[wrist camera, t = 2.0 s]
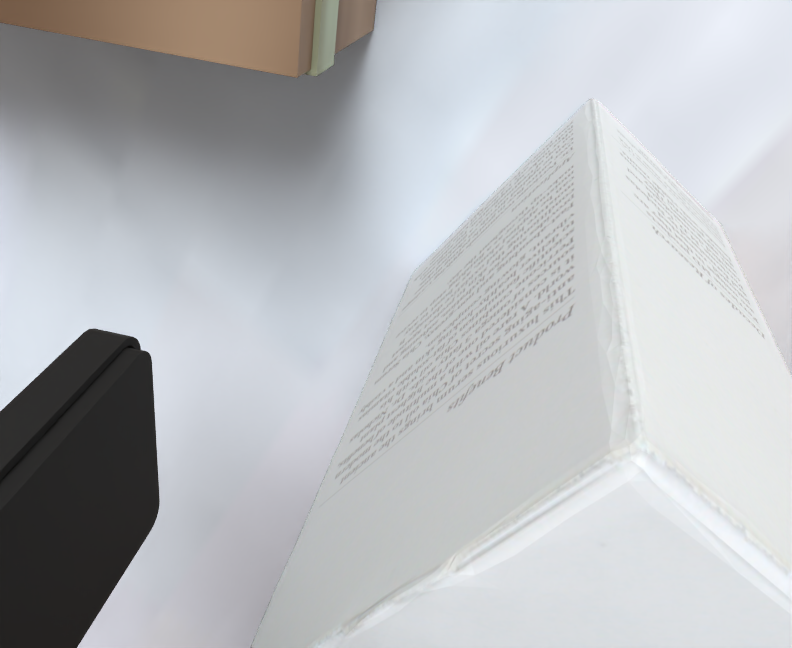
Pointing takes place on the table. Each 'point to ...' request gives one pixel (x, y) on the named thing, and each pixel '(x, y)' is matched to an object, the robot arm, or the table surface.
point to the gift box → (211, 28)
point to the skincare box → (561, 433)
